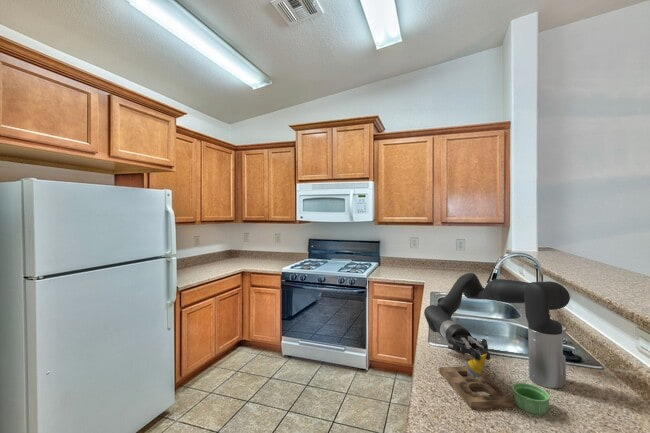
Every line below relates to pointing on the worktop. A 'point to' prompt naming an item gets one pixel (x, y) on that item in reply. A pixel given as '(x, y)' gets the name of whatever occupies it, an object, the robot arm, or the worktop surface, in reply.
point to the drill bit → (475, 366)
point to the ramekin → (531, 398)
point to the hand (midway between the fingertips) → (483, 357)
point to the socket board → (466, 383)
